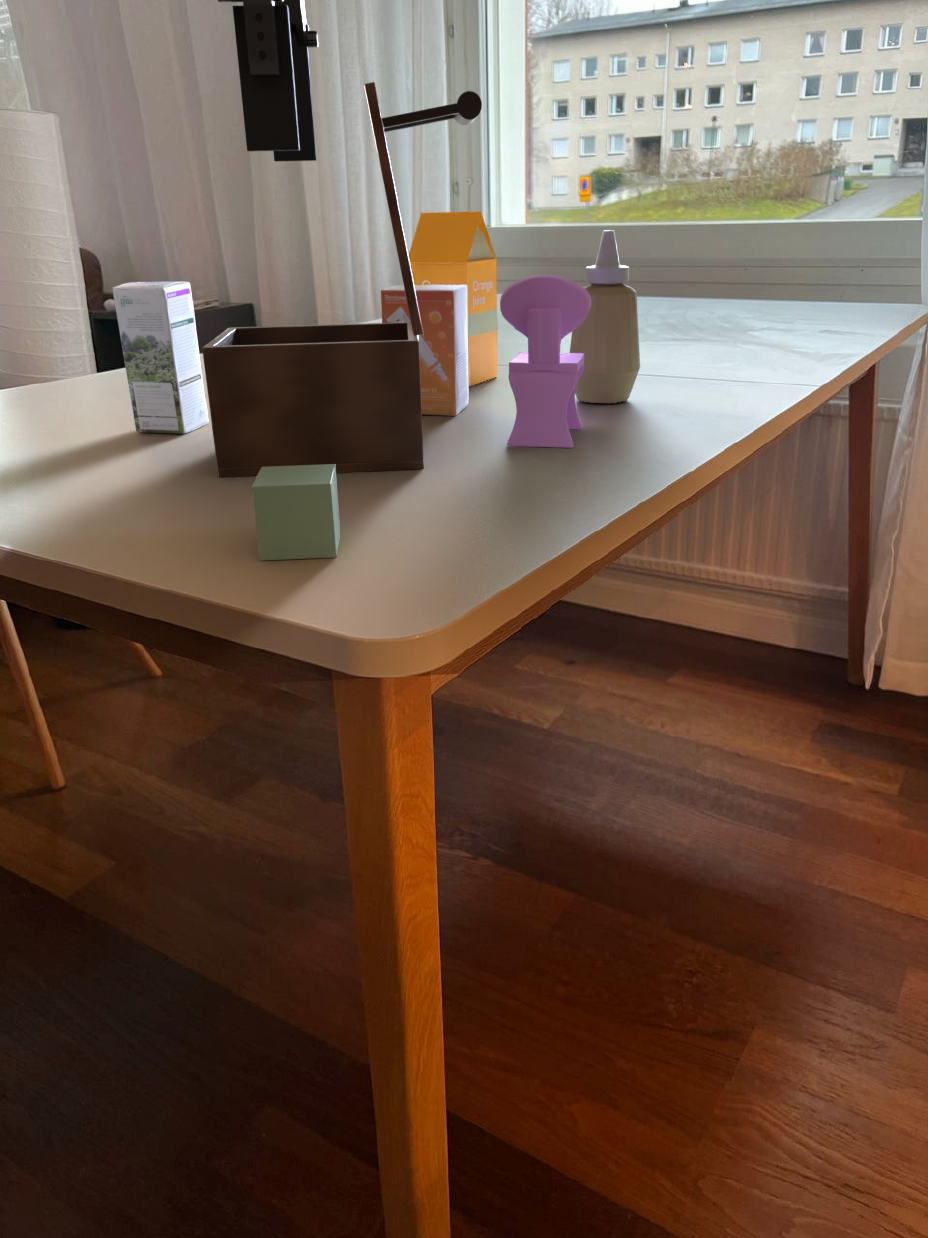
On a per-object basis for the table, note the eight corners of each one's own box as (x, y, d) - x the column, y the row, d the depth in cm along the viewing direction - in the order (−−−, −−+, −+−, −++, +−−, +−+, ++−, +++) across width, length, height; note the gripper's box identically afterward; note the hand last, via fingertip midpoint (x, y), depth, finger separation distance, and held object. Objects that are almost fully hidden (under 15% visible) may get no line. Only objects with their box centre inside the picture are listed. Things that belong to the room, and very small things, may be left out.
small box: (385, 414, 105) (378, 288, 99) (401, 403, 110) (396, 283, 105) (457, 416, 103) (454, 288, 98) (470, 404, 109) (467, 283, 103)
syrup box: (210, 422, 103) (192, 279, 97) (184, 435, 97) (162, 284, 92) (162, 421, 104) (141, 280, 98) (133, 433, 99) (109, 284, 93)
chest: (218, 477, 82) (201, 347, 78) (241, 441, 95) (228, 327, 90) (423, 469, 83) (418, 340, 79) (420, 434, 95) (415, 321, 91)
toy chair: (592, 427, 97) (597, 269, 91) (584, 447, 89) (589, 276, 83) (511, 425, 98) (510, 270, 92) (496, 445, 90) (494, 277, 84)
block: (259, 561, 63) (251, 486, 61) (269, 536, 67) (261, 466, 65) (336, 557, 63) (330, 483, 61) (340, 533, 67) (335, 463, 65)
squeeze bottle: (556, 396, 112) (558, 230, 105) (618, 391, 114) (625, 228, 107) (585, 409, 105) (590, 232, 98) (651, 403, 107) (660, 229, 100)
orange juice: (469, 386, 119) (465, 212, 111) (409, 382, 123) (401, 213, 115) (498, 377, 125) (497, 210, 117) (441, 372, 129) (435, 211, 121)
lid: (363, 83, 71) (480, 60, 71) (368, 101, 84) (467, 81, 83) (413, 335, 78) (519, 314, 78) (411, 317, 91) (502, 299, 91)
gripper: (211, -212, 60) (249, 164, 68) (104, -469, 37) (181, 146, 45) (332, -212, 60) (355, 162, 69) (300, -465, 37) (340, 142, 46)
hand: (285, 156), depth 57 cm, fingers open, 13 cm apart
